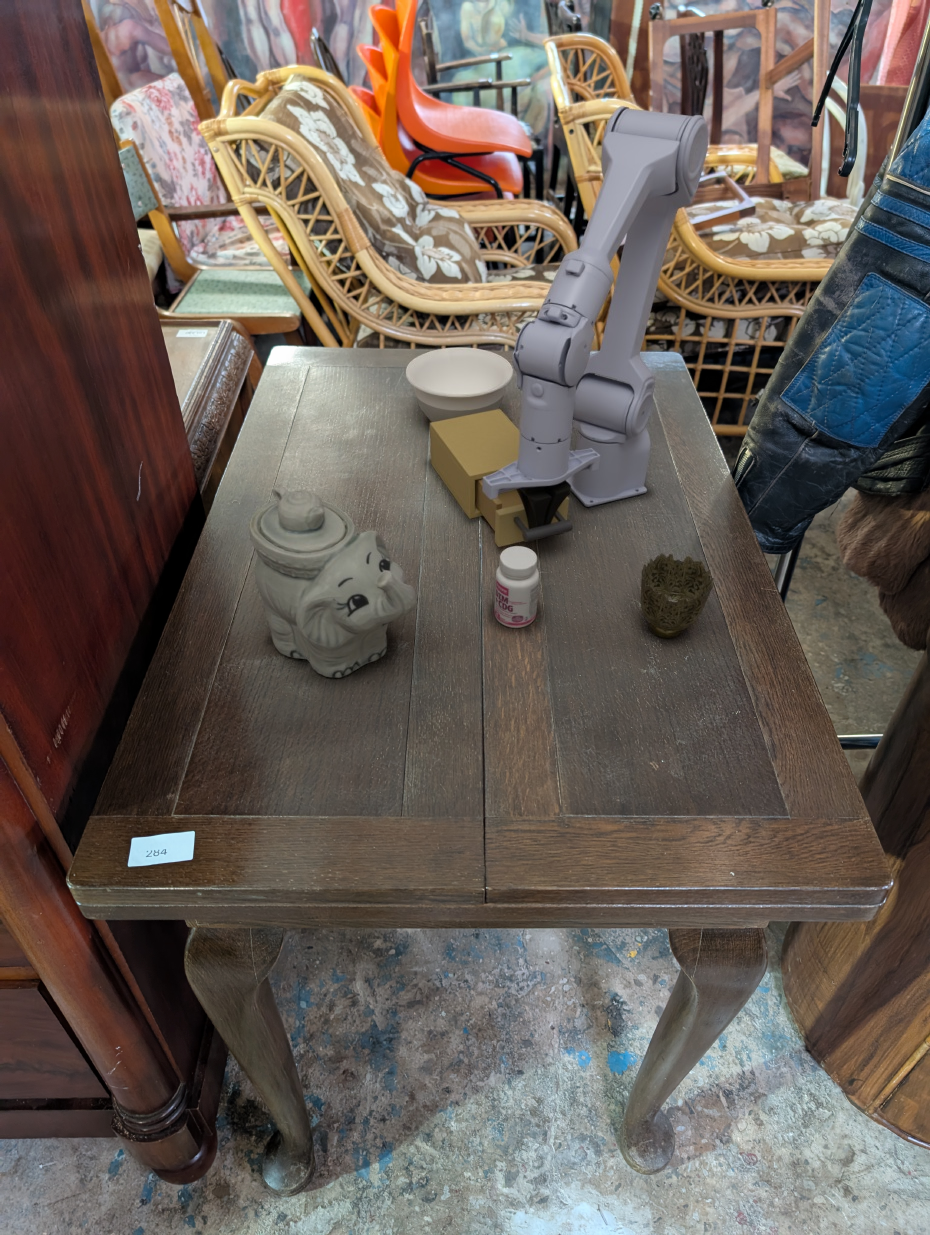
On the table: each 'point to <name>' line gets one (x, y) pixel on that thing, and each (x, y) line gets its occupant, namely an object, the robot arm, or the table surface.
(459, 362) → the bowl
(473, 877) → the table surface
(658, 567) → the cup
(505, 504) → the drawer
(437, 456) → the cabinet
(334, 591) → the grey elephant cookie jar
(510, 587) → the pill bottle
